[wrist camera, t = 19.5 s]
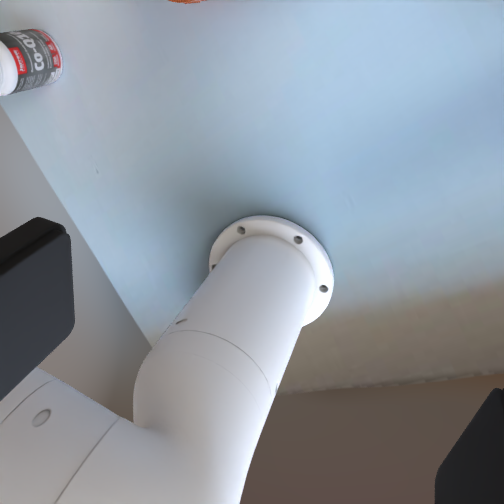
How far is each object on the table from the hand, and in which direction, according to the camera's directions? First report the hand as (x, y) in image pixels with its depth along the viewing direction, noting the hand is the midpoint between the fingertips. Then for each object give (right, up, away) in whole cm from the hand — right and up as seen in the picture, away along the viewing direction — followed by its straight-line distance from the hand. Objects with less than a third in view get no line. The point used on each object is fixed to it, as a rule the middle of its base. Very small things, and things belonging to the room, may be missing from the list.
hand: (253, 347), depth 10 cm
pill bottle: (-19, +20, +33) cm, 43 cm away
